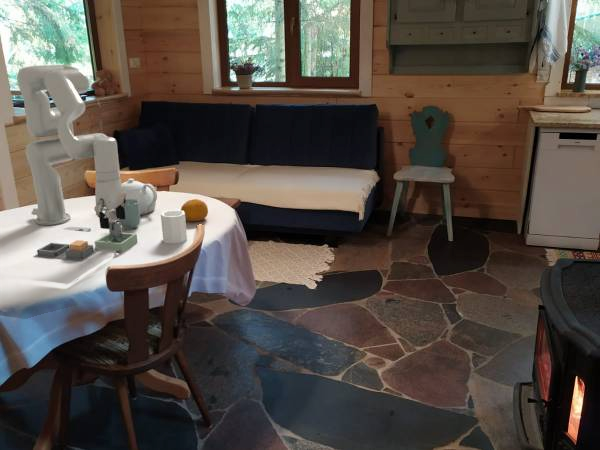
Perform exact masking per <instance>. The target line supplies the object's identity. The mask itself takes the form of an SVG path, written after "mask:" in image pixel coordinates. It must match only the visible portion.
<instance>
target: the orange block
mask: <svg viewBox="0 0 600 450" xmlns="http://www.w3.org/2000/svg"><path fill="white" fill-rule="evenodd" d="M68 245H69V247H70V250H75V251H82V250H84V249H86V248H87V247H88V245H89V241H87V240H80V239H78V240H75V241H73V242H72V243H70V244H68Z"/></svg>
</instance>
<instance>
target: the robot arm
mask: <svg viewBox="0 0 600 450" xmlns="http://www.w3.org/2000/svg"><path fill="white" fill-rule="evenodd" d="M16 80H17V81H16V82H17V86H18V89H19V91H20V93H21V97H22V99H23V102H24V104H23V105H24V112H25V120H26V126H27V127H26V128H27V131H28V133H29V135H30V136H31V137H33V138H47V137H52V136H53V137H54V136H57V137H54V138H47V139H39V140H34V141H31V142H30V143H28V144H27V145H26V147H25V156H26V159H27V161H28V164H29V167H30V172H31V175H32V180H33V182H32V183H33V187H34V192H35V193H34V194H35V198H36V204H37V208H34V207H33V209H32V210H31V215H35V216H36V217H35V223H36V224H37V225H41V226H53V225H54V226H55V225H60V224H63V223H66V222H68V221H70V220H71V214H69V213H66V209H65V208H66V207H65V200H64V194H63V188H62V182H61V176H60V174H59V172H58V171H57V170H56V169H55V168H54V167H53V166H52V165H56V164H61V163H66V162H70V161H72V160H73V159H74V160H82V159H87V158H93V159H94V169H95V177H96V181H95V186H94V187H95V188H94V189H95V190H94V191H95V192H94V193H95V194H94V195H95V207H93V208H94V211H95V214H96V216H97V218H99V226H100V227H99V228H100V229H105V230H109V228H110V225H109V222H110V218H109V217H108V215H109V213H110V211H112V210H114V208H116V207H118V208H116V212H115V217H116V220H117V219H118V220H119V219H123V220H124V219H125V202H126V193H124V192H123V188H122V183H123V182H122V180H121V171H120V163H119V160H120V159H119V153H118V142H117V139H116V138H114V137H112V136H107V134H104V133H103V132H101V133H100V132H96V133H87V134H82V135H75V134H74V133H75V131H74V125H73V121H75V120H77V119H78V118H80V117H81V116H82V115H83V114H84V113H85V111H86V104H85V102H84V101H83V99H82V97H81V95H80V94H85V93H87V92H88V91H89V90H90V81H89V78H88V76H87V75H86V73H85V72H84V71H83V70H82V69H80V68H77V67H73V66H71V65H66V64H52V65H51V64H48V65H47V64H46V65H32V66H26V67H22V68H21V69H19V70H18V72H17V76H16ZM45 91H47V92H48V94H49V96H50V98H51V99H52V101H53V103H54V105H55V107H56V109H51V101H50V98H49V96H48V95H47V94H46V92H45Z"/></svg>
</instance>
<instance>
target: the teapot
mask: <svg viewBox="0 0 600 450" xmlns="http://www.w3.org/2000/svg"><path fill="white" fill-rule="evenodd" d="M121 183H122V188H123V192H124V193H126V199H134V200H138V201H139V207H140V216H141V215H146V214H149V213H151V212H153V211H154V210H155V208H156V204H157V202H156V201H157V199H158V195H157V194H158V193H157V191H156V188H155V187H154V186H153V184H151V183H143V182H140V181H138V180H135V179H134V178H128V179H127V181H124V182H121ZM116 208H117V207H116ZM116 208H114V209H113V212H115V213H116Z"/></svg>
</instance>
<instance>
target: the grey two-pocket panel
mask: <svg viewBox="0 0 600 450" xmlns="http://www.w3.org/2000/svg"><path fill="white" fill-rule="evenodd" d="M100 251H101V250H100V249H94V245H93V244H88V247H87V248H86V249H84V250H82V251H75V250H70V246H69V244H68V243H58V242H49V243H48V244H46V245H43V246H42V247H40V248H39V249H37V251H36V253H37V254H35V255H33V257H34V258H35V257H36V258H45V259H51V260H52V259H53V260H62V261H71V262H81V263H82V262H83V261H85V260H87V259H88V258H90V257H91V256H93V255H95V254H96V253H98V252H100Z"/></svg>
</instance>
